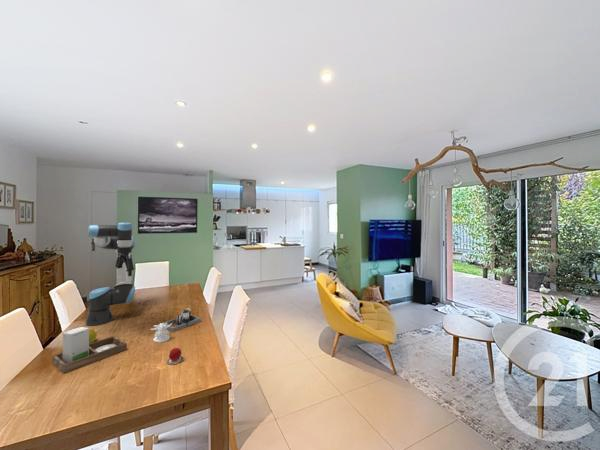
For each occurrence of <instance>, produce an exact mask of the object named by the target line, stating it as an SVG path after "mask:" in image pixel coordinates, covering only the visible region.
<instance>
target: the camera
mask: <svg viewBox="0 0 600 450" xmlns="http://www.w3.org/2000/svg"><path fill="white" fill-rule="evenodd" d="M190 315H192V311H191V308H189V307H187V308H185V309H183V310H182V311H181V314H178V315H177V316H176V318H177V322H176V325H181V324H184V323H187V327H189V326H188V322H189V321H191V319H190Z"/></svg>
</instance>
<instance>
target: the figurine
mask: <svg viewBox="0 0 600 450" xmlns="http://www.w3.org/2000/svg"><path fill="white" fill-rule="evenodd" d="M170 326H171V327H172V324H170V325H167V323H165V324H164V322H160V323H159V324H155V325H153V328H150V330H151V331H155V332H154V333H153V335H154V338H153V339H152V341H153V342H155V343H156V344H162V343H165V342H167V341H169V340H170V338H171V337H170V335H169V333H170V331H169V330H166V329H167V328H168V327H170Z"/></svg>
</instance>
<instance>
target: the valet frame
mask: <svg viewBox="0 0 600 450" xmlns="http://www.w3.org/2000/svg"><path fill="white" fill-rule="evenodd" d="M201 319H202V318H201V317H198V316H196V315H192V314H191V315H190V321H189V322H188V326H187V323H184V324H177V317H176V318H173V319H170V320H167V321H164V322H163V323H164V324H165V323H167V325H170V324H175V323H176V324H177V325H176V326H172V325H171V326H170V327H168V328H167V329H166V330H167V331H168V332H172V333H174V332H176V331H180V330H182V329H185V328H187V327H190V326H192V325H195V324H198V323H200V322H201Z"/></svg>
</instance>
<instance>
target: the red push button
mask: <svg viewBox="0 0 600 450" xmlns="http://www.w3.org/2000/svg"><path fill="white" fill-rule="evenodd" d="M183 360H185V359H184V356H183V355H182V350H181V349H180V348H179V347H174V348H172V349H171V350H170V351H169V355H168V359H167V360H166V362H165V363H166V364H168V365H175V364H179V363H181V362H183Z"/></svg>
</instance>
